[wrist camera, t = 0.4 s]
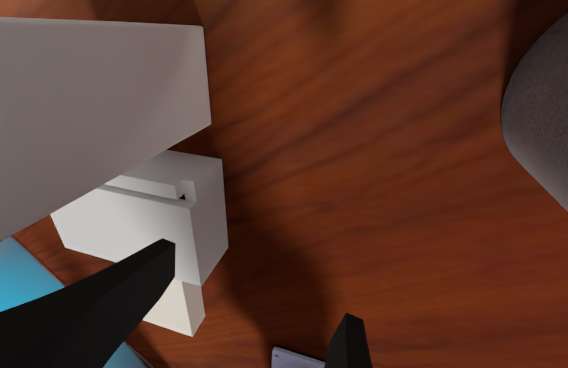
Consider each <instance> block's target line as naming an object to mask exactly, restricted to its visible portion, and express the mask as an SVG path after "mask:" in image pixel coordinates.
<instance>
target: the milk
mask: <svg viewBox="0 0 568 368" xmlns="http://www.w3.org/2000/svg"><path fill="white" fill-rule="evenodd" d="M209 125H211V112H210V101H209V89H208V78H207V66H206V55H205V43H204V32H203V27H202V26H195V25H176V24H156V23H137V22H118V21H91V20H64V19H37V18H10V17H0V242H1V241H3V240H4V239H6V238H8V237H10V236H12V235H13V234H15V233H17V232H19V231H21V230H22V229H24V228H26V227H28V226H30V225H31V224H33V223H35V222H37V221H39V220H40V219H42V218H44V217H46V216H48V215H49V214H51V213H53V212H55V211H57V210H58V209H60V208H62V207H64V206H65V205H67V204H69V203H71V202H73V201H74V200H76V199H78V198H80V197H82V196H83V195H85V194H87V193H89V192H91V191H92V190H94V189H96V188H98V187H100V186H101V185H103V184H105V183H107V182H109V181H110V180H112V179H114V178H116V177H118V176H119V175H121V174H123V173H125V172H127V171H128V170H130V169H132V168H134V167H136V166H137V165H139V164H141V163H143V162H145V161H146V160H148V159H150V158H152V157H153V156H155V155H157V154H159V153H161V152H162V151H164V150H166V149H168V148H170V147H171V146H173V145H175V144H177V143H179V142H180V141H182V140H184V139H186V138H188V137H189V136H191V135H193V134H195V133H197V132H198V131H200V130H202V129H204V128H206V127H207V126H209Z"/></svg>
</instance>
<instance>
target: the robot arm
mask: <svg viewBox="0 0 568 368" xmlns="http://www.w3.org/2000/svg"><path fill="white" fill-rule="evenodd" d="M175 250H176V243H173V242H171V241H168V240H166V239H164V238H162V239H160V240H158V241H156V242H154V243H152V244H150V245H148V246H147V247H145V248H143V249H141V250H139V251H137V252H136V253H134V254H132V255H130V256H128V257H126V258H124V259H122V260H121V261H119V262H117V263H115V264H113V265H111V266H109V267H107V268H105V269H103V270H101V271H99V272H97V273H95V274H93V275H91V276H88V277H86V278H84V279H82V280H80V281H78V282H76V283H73V284H71V285H69V286H67V287H64V288H62V289H60V290H58V291H55V292H53V293H50V294H48V295H45V296H43V297H40V298H38V299H35V300H32V301H30V302H27V303H24V304H21V305H19V306H16V307H13V308H10V309H8V310H5V311H2V312H0V368H103V367H104V365H105V364H106V363H107V361H108V360H109V358H110V357H111V356H112V355H113V353H114V352H115V351H116V350H117V348H118V347H119V346H120V345H121V344H122V343H123V342H124V340H125V339H126V338H127V337H128V336H129V335H130V333H131V332H132V331H133V330H134V329H135V328H136V326H137V325H138V324H139V323H140V322H141V321H142V319H143V318H144V317H145V316H146V315H147V314H148V312H149V311H150V310H151V309H152V308H153V306H154V305H155V304H156V303H157V302H158V301H159V299H160V298H161V297H162V295H163V294H164V292H165V291H166V289H167V288H168V286H169V285H170V283H171V282H172V280H173V279H174V277H175ZM272 368H373V367H372V363H371V358H370V353H369V349H368V344H367V339H366V333H365V327H364V322H363V320H362V319H360V318H358V317H355V316H353V315H351V314H348V313H346V314H345V316H344V317H343V319H342V321H341V323H340V325H339V326H338V328H337V330H336V332H335V333H334V335H333V337H332V339H331V341H330V343H329V347H328V352H327V356H326V361H325V362H322V361H319V360H316V359H313V358H310V357H307V356H304V355H301V354H298V353H294V352H291V351H288V350H285V349H282V348H279V347H274V348H273V350H272Z"/></svg>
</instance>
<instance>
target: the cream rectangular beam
mask: <svg viewBox="0 0 568 368" xmlns="http://www.w3.org/2000/svg"><path fill="white" fill-rule="evenodd" d="M204 317H205V311H204V305H203V298H202V292H201V287H200V286H197V285H193V284H190V283H186V282H183V281H179V280H176V279H173V280H172V282H171V283H170V285H169V286H168V288H167V289H166V291H165V292H164V294H163V295H162V297H161V298H160V299H159V301H158V302H157V303H156V304H155V305H154V306H153V308H152V309H151V310H150V311H149V312H148V314H147V315H146V316H145V317H144V318H143V320H144V321H147V322H150V323H153V324H156V325H159V326H162V327H165V328H168V329H171V330H173V331H176V332H179V333H182V334H185V335H188V336H191V337H193V335H194V334H195V332H196V330H197V329H198V327H199V325H200V324H201V322H202V320H203V319H204Z"/></svg>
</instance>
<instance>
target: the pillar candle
mask: <svg viewBox="0 0 568 368" xmlns="http://www.w3.org/2000/svg"><path fill="white" fill-rule="evenodd" d="M501 126H502V132H503V137H504V139H505V142H506V144H507V146H508V148H509V150H510V152H511V153H512V155H513V156H514V157H515V159H516V160H517V161H518V162H519V163H520V164H521V165H522V166H523V167H524V168H525V169H526V170H527V171H528V172H529V173H530V174H531V175H532V176H533V177H534V178H535V179H536V180H537V181H538V182H539V183H540V184H541V185H542V186H543V187H544V188H545V189H546V190H547V191H548V192H549V193H550V194H551V195H552V196H553V197H554V198H555V199H556V200H557V201H558V202H559V203H560V204H561V205H562V206H563V207H564V208H565V209H566V210H567V211H568V12H567V13H566V14H564V15H563V16H562V17H561V18H559V19H558V20H557V21H556V22H555V23H554V24H553V25H552V26H551V27H550V28H548V29H547V30H546V32H545V33H543V34H542V35H541V36H540V37H539V38H538V39H537V40H536V42H535V43H534V44H533V45H532V46H531V47H530V49H529V50H528V51H527V52H526V54H525V55H524V56H523V58H522V59H521V60H520V62H519V64H518V66H517V67H516V69H515V70H514V72H513V74H512V76H511V78H510V81H509V84H508V86H507V88H506V91H505V94H504V98H503V103H502V109H501Z"/></svg>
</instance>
